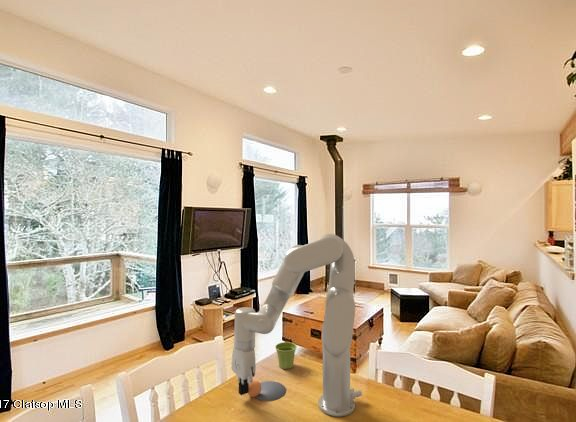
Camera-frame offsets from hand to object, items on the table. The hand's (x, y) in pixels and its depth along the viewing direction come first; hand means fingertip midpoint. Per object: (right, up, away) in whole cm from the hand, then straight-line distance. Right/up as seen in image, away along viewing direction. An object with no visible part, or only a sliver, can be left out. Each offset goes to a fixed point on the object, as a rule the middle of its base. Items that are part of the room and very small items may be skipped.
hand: (243, 393), depth 121 cm
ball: (+4, 0, +2) cm, 4 cm away
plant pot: (+15, -2, +25) cm, 29 cm away
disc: (+9, -2, +6) cm, 11 cm away
